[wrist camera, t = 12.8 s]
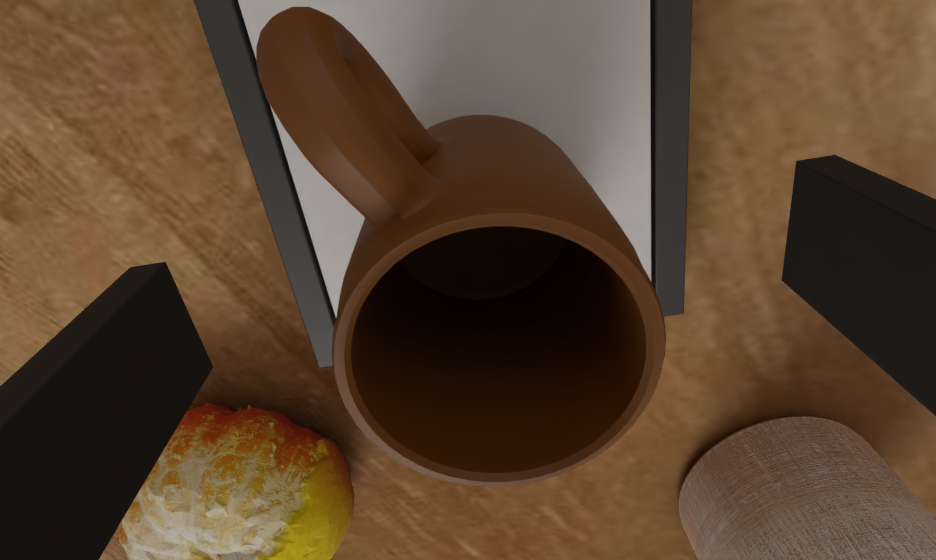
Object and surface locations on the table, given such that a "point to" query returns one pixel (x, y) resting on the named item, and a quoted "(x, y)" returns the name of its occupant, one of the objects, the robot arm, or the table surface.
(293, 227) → the scale
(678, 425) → the table surface
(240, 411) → the fruit
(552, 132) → the scale pan
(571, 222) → the mug
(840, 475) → the planter
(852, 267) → the robot arm
